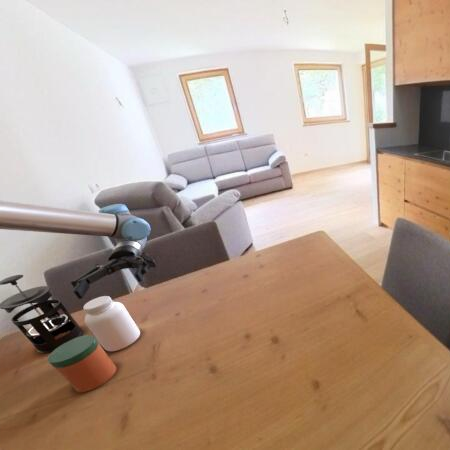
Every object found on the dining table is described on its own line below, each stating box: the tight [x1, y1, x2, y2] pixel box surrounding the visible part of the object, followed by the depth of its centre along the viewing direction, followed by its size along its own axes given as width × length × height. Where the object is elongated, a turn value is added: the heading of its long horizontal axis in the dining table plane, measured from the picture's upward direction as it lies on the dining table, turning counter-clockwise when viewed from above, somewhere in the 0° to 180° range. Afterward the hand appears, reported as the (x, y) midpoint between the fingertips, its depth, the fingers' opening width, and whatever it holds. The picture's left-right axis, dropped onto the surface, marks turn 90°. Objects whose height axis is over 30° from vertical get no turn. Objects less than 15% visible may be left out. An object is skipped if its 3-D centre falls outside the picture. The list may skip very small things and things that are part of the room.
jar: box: [54, 343, 117, 393], centre depth 69 cm, size 8×8×10 cm
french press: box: [0, 274, 85, 355], centre depth 78 cm, size 12×9×23 cm
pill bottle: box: [82, 295, 141, 352], centre depth 78 cm, size 8×8×15 cm
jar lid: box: [47, 334, 100, 369], centre depth 67 cm, size 8×8×2 cm
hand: (109, 286), depth 83 cm, fingers open, 13 cm apart
